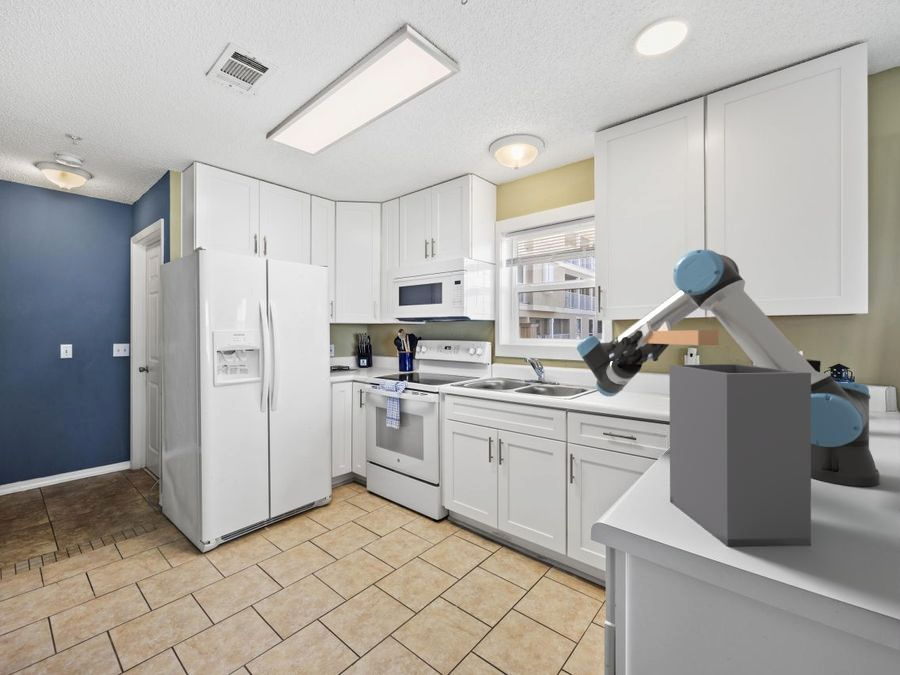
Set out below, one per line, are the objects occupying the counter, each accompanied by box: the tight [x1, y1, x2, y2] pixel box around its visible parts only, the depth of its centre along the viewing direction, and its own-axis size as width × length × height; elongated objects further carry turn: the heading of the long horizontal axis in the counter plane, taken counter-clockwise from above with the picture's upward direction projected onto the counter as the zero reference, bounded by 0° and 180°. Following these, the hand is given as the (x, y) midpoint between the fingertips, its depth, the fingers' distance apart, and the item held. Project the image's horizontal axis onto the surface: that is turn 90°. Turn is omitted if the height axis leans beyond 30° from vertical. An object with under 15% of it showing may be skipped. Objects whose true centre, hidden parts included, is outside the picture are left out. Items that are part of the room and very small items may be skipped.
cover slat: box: [635, 329, 719, 346], centre depth 96 cm, size 28×4×3 cm, turn 0°
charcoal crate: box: [668, 363, 812, 547], centre depth 78 cm, size 14×18×29 cm
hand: (658, 326), depth 101 cm, fingers closed on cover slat, 4 cm apart
